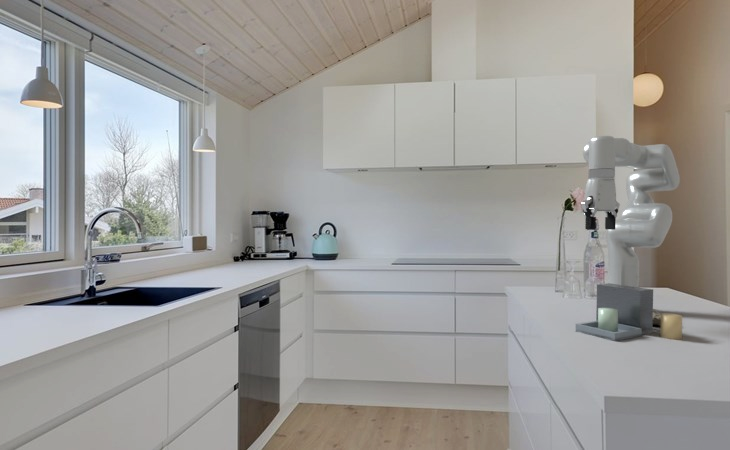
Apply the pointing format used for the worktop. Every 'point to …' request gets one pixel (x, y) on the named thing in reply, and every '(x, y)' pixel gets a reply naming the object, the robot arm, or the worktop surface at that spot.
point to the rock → (656, 318)
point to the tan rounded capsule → (671, 326)
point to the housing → (628, 305)
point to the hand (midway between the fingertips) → (600, 229)
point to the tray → (622, 333)
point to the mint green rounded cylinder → (608, 319)
